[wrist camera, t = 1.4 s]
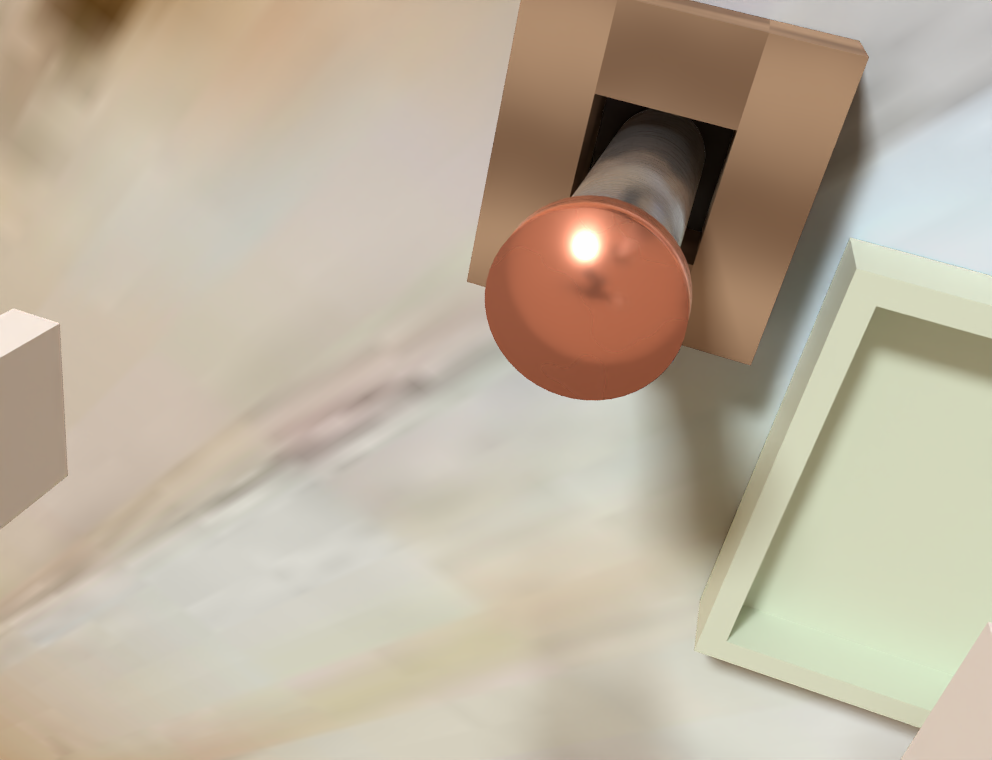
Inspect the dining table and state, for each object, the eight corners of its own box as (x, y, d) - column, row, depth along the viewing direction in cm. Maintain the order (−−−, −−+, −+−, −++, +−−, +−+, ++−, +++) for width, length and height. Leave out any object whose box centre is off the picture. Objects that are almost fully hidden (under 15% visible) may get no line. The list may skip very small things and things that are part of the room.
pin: (612, 74, 31) (506, 183, 19) (741, 108, 30) (716, 242, 18) (582, 198, 33) (468, 366, 21) (701, 232, 32) (655, 424, 20)
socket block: (551, -34, 30) (525, -27, 27) (859, 41, 28) (868, 57, 25) (493, 248, 35) (466, 281, 32) (753, 324, 33) (750, 365, 30)
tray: (849, 237, 31) (856, 268, 28) (1256, 347, 29) (1304, 392, 26) (699, 600, 39) (694, 650, 37) (1007, 703, 38) (1024, 764, 35)
